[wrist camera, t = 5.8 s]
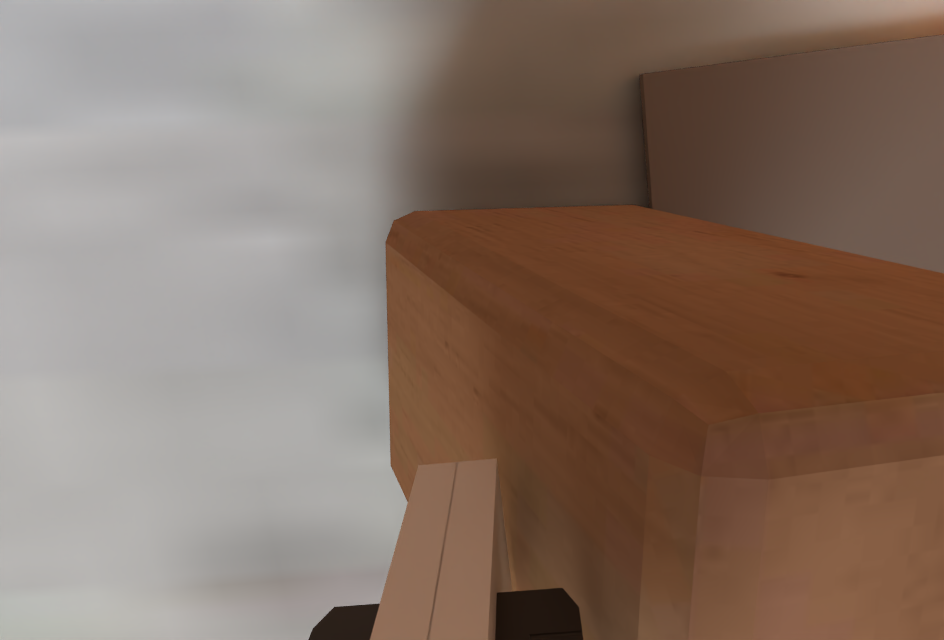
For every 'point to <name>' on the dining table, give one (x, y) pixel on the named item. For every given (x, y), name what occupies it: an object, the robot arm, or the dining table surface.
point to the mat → (808, 147)
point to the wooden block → (681, 417)
